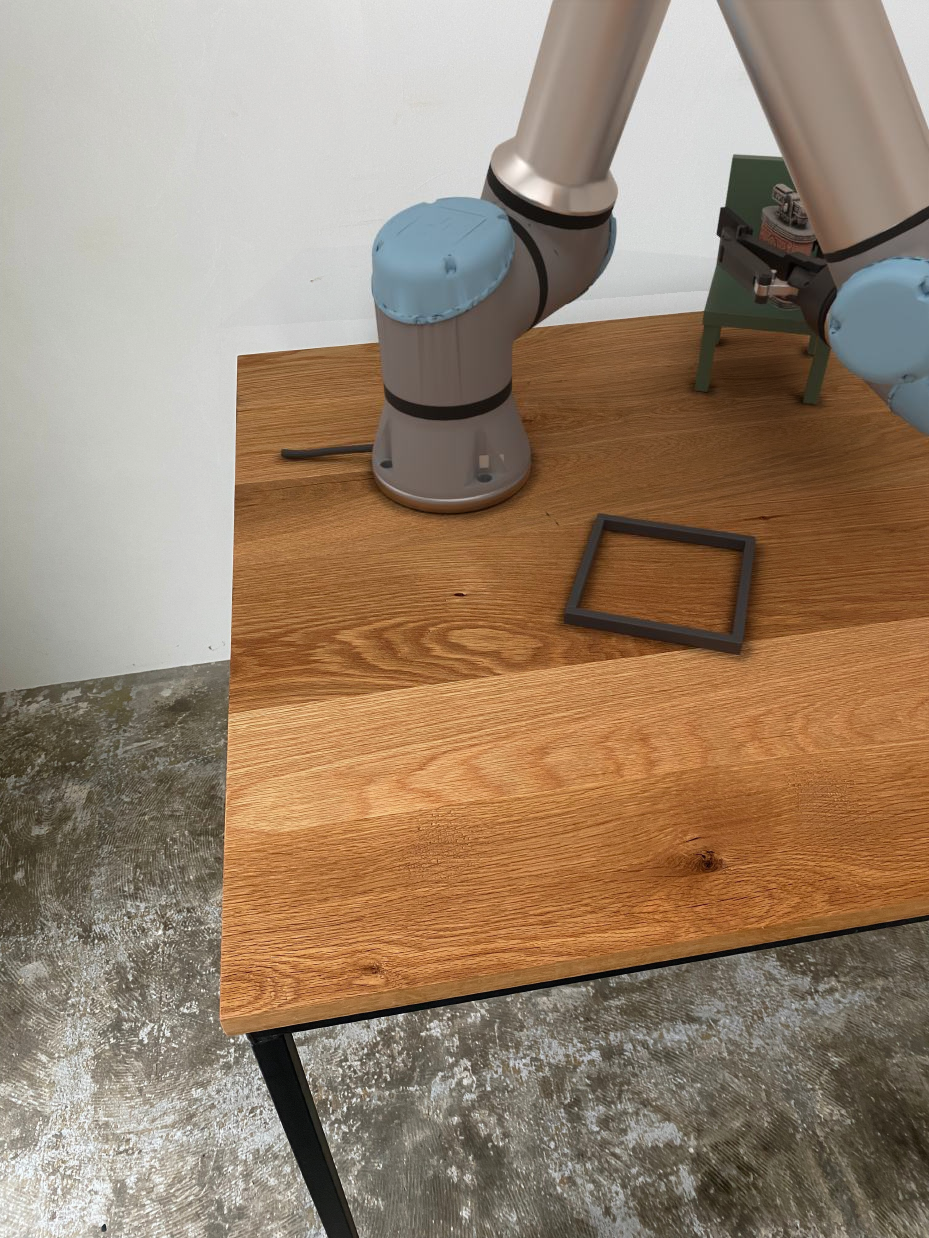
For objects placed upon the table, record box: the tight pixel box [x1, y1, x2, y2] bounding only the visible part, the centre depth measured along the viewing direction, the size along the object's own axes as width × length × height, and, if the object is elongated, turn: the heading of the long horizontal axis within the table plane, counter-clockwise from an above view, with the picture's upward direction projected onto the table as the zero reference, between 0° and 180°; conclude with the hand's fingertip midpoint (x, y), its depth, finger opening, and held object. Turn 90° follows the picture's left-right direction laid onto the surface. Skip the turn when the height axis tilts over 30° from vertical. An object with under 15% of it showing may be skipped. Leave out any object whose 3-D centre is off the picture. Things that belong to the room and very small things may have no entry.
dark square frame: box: [563, 512, 757, 655], centre depth 77 cm, size 14×14×1 cm
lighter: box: [759, 184, 816, 310], centre depth 93 cm, size 8×3×10 cm, turn 13°
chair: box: [694, 153, 832, 406], centre depth 96 cm, size 13×13×20 cm
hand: (754, 217), depth 96 cm, fingers open, 6 cm apart
